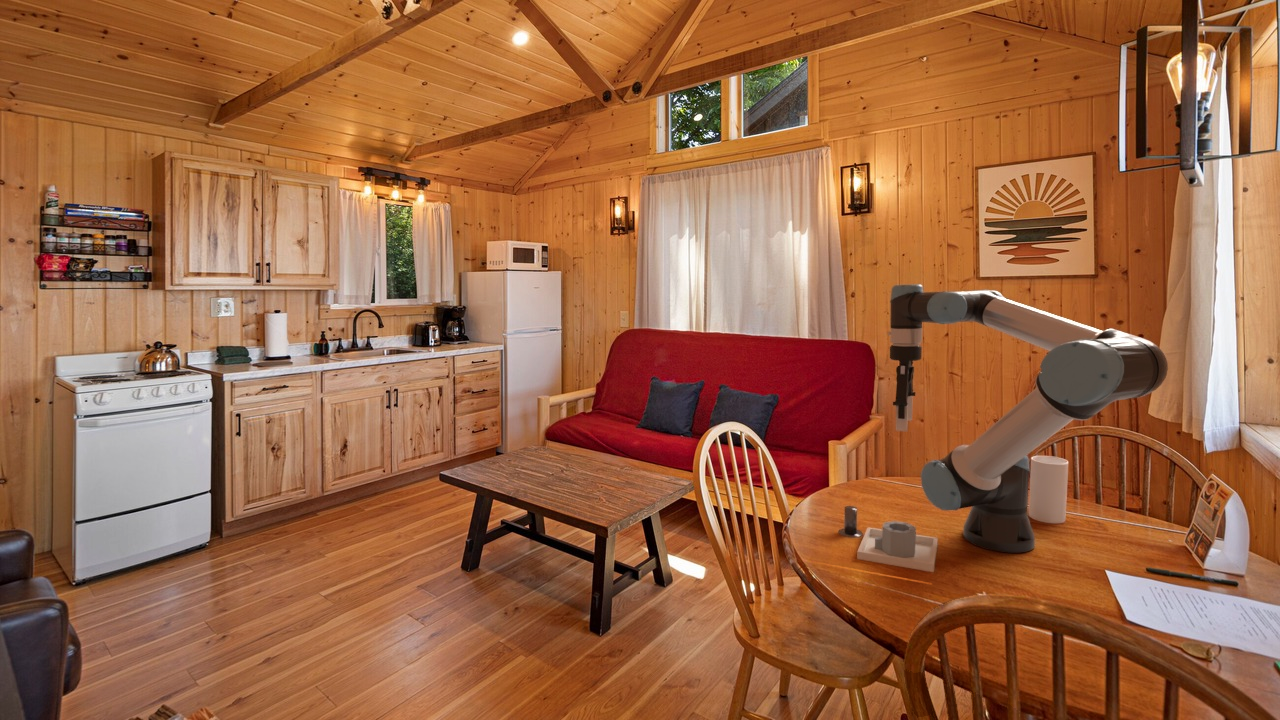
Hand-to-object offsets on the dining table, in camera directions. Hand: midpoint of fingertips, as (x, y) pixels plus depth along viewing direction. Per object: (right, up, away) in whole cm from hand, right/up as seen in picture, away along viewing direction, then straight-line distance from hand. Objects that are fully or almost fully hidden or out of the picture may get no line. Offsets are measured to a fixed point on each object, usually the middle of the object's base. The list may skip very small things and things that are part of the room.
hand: (904, 425), depth 159 cm
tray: (-8, -29, -15) cm, 33 cm away
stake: (-15, -28, -3) cm, 32 cm away
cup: (+40, -26, +4) cm, 48 cm away
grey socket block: (-8, -28, -15) cm, 33 cm away
